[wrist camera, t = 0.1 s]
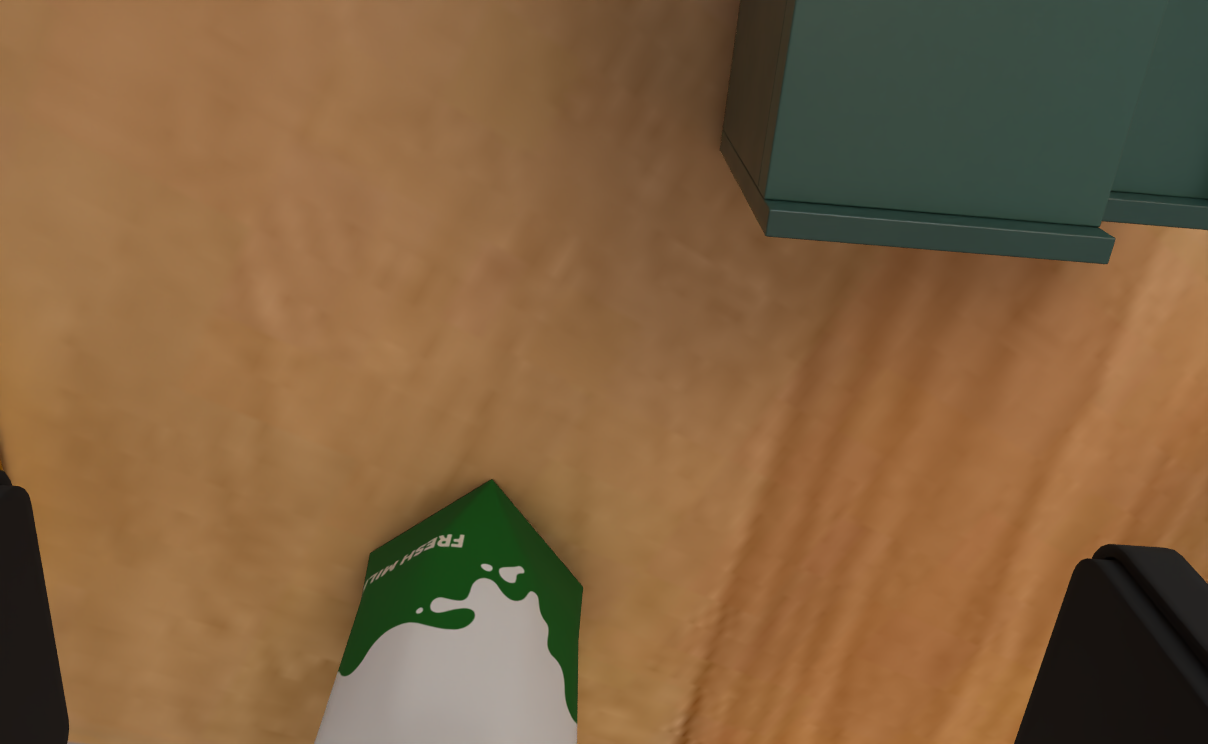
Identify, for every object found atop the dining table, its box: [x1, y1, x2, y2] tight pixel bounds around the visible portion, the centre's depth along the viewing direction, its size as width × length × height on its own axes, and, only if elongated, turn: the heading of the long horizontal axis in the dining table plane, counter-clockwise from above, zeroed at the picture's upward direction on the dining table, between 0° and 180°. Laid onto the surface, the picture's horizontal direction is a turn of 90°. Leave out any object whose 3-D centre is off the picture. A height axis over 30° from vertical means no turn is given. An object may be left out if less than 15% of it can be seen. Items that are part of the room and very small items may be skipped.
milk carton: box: [314, 479, 583, 744], centre depth 38 cm, size 9×9×20 cm
